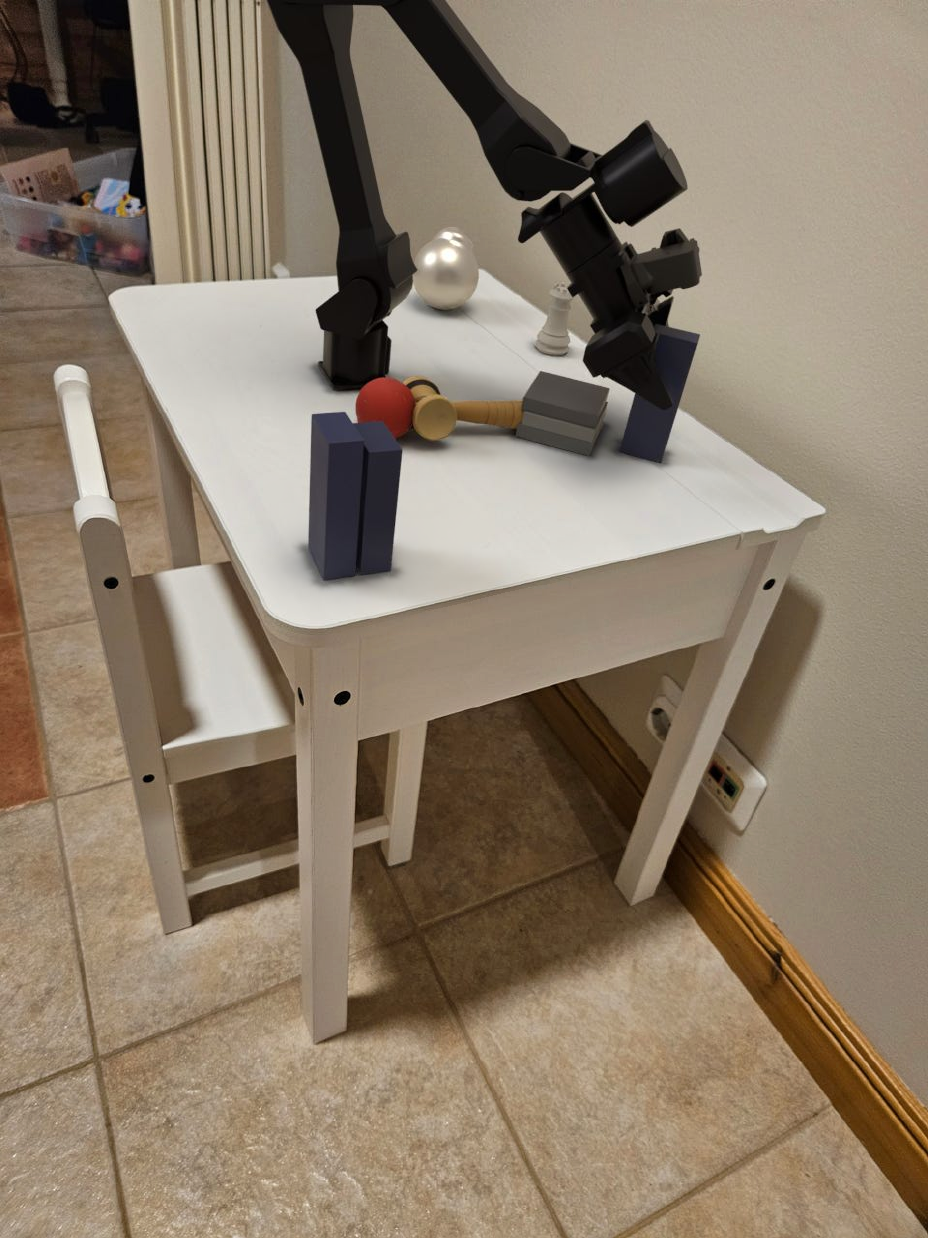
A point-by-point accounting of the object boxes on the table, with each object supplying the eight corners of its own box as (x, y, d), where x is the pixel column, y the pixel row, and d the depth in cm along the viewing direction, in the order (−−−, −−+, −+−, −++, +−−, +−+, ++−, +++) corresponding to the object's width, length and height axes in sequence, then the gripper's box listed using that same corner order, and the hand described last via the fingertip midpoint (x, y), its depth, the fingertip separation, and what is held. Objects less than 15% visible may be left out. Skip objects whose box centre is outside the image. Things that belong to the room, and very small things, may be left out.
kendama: (499, 419, 98) (342, 407, 90) (518, 370, 93) (354, 353, 86) (522, 464, 93) (358, 455, 86) (544, 414, 89) (373, 400, 81)
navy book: (661, 463, 92) (698, 342, 84) (619, 452, 93) (651, 331, 85) (664, 452, 94) (700, 333, 86) (623, 441, 95) (655, 323, 87)
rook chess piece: (575, 354, 112) (589, 291, 108) (548, 358, 110) (561, 294, 105) (554, 340, 115) (566, 278, 110) (527, 344, 113) (538, 281, 108)
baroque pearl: (489, 311, 120) (501, 235, 114) (443, 324, 114) (453, 244, 108) (441, 290, 125) (450, 215, 118) (394, 301, 118) (400, 223, 112)
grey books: (515, 436, 92) (522, 397, 90) (533, 407, 99) (540, 369, 96) (589, 456, 91) (598, 417, 88) (602, 425, 97) (612, 387, 95)
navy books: (323, 580, 69) (328, 443, 61) (307, 548, 72) (311, 413, 65) (391, 571, 71) (404, 436, 64) (373, 540, 74) (383, 408, 67)
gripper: (652, 227, 72) (743, 386, 77) (678, 184, 86) (753, 321, 92) (542, 301, 78) (633, 444, 83) (583, 249, 92) (658, 374, 98)
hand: (673, 392), depth 89 cm, fingers open, 8 cm apart
